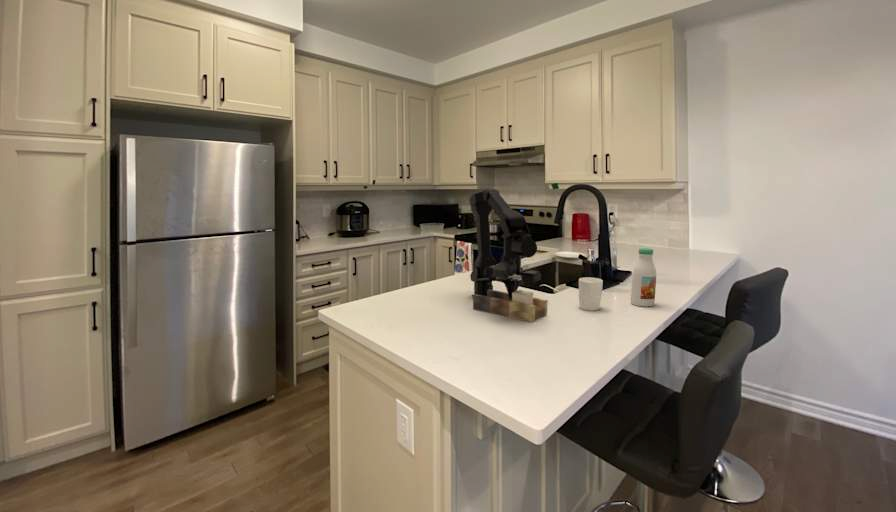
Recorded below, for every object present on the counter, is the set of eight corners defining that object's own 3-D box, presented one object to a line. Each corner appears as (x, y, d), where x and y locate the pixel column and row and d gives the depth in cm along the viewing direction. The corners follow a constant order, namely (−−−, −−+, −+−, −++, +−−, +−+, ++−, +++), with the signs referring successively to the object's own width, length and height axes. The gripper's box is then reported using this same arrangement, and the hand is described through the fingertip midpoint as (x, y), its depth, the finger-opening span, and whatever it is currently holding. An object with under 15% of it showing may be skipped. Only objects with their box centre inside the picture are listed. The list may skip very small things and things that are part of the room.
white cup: (598, 305, 150) (599, 277, 148) (604, 311, 142) (605, 282, 140) (575, 304, 150) (576, 277, 149) (580, 310, 143) (581, 282, 141)
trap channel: (473, 308, 146) (473, 294, 145) (489, 302, 154) (489, 289, 153) (532, 321, 131) (532, 306, 131) (547, 314, 139) (547, 299, 138)
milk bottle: (630, 306, 148) (634, 249, 145) (630, 300, 155) (633, 246, 152) (655, 308, 145) (659, 251, 142) (653, 302, 152) (657, 247, 149)
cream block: (511, 307, 139) (512, 292, 138) (519, 304, 142) (520, 289, 142) (525, 310, 135) (525, 295, 135) (532, 306, 139) (533, 292, 138)
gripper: (475, 253, 138) (474, 298, 141) (525, 259, 127) (523, 309, 129) (494, 249, 147) (493, 292, 149) (542, 254, 135) (541, 301, 138)
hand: (511, 298), depth 141 cm, fingers closed
